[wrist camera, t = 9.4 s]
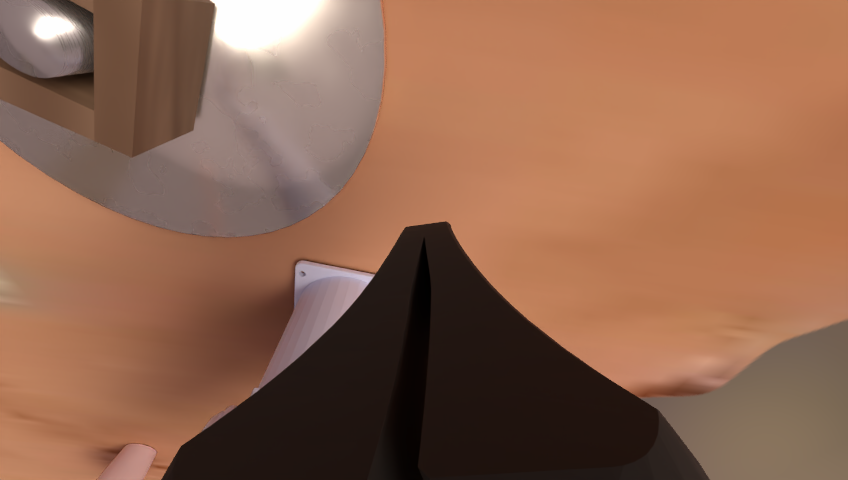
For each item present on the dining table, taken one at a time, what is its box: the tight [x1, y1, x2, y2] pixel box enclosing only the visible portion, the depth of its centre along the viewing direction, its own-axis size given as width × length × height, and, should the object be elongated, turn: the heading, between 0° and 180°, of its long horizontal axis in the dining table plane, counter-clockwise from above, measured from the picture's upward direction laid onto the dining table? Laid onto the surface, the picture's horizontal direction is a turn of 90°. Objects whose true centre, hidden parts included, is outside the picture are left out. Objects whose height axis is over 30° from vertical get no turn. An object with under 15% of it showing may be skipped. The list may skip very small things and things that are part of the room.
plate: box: [0, 0, 386, 237], centre depth 14 cm, size 22×22×1 cm
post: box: [0, 0, 94, 78], centre depth 12 cm, size 2×2×6 cm
